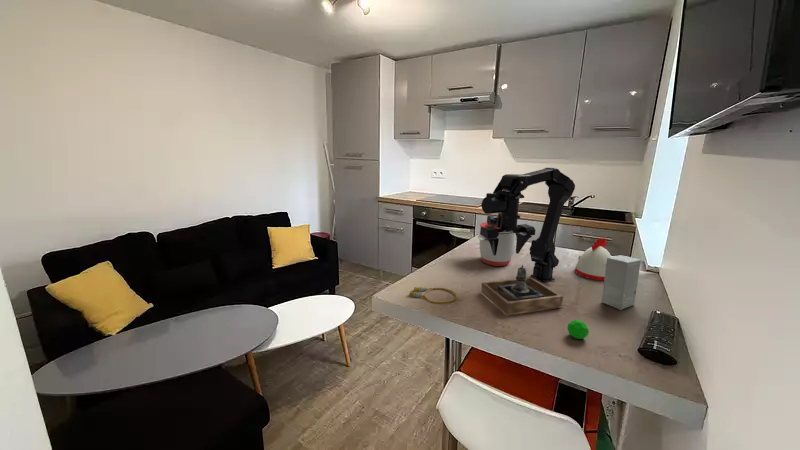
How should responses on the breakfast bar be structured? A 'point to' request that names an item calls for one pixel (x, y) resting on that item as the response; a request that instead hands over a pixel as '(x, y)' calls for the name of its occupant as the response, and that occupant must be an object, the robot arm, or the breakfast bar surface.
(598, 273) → the white chicken dome
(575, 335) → the polyhedron
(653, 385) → the breakfast bar surface
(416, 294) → the extension cord
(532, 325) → the breakfast bar surface
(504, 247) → the citrus juicer
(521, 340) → the breakfast bar surface
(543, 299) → the walled box
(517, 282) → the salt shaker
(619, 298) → the skincare box
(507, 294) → the inlet collar
